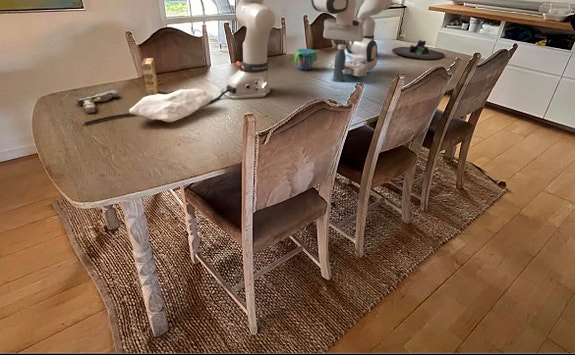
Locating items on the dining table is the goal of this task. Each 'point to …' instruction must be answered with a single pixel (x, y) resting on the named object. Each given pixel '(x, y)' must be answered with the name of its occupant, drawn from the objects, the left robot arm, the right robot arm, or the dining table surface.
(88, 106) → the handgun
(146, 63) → the candy box
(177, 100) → the crumpled cloth
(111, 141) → the dining table surface
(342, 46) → the cap
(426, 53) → the dark round tray
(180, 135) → the dining table surface
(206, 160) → the dining table surface
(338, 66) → the bottle
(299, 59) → the snack cup
